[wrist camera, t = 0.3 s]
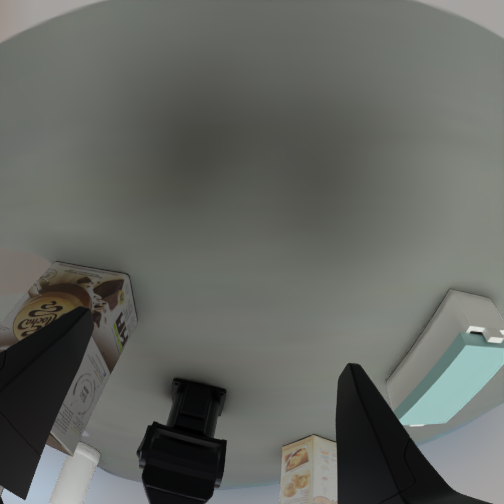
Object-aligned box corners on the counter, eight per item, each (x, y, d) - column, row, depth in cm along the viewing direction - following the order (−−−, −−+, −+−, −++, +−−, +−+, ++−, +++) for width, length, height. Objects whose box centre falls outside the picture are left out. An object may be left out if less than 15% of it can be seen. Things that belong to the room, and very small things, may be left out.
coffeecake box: (280, 446, 43) (271, 557, 26) (313, 433, 39) (311, 556, 23) (339, 464, 47) (340, 556, 30) (371, 452, 43) (377, 550, 27)
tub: (424, 384, 32) (435, 425, 27) (385, 382, 32) (394, 426, 27) (489, 297, 25) (516, 339, 19) (450, 288, 25) (476, 334, 19)
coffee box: (129, 271, 27) (39, 422, 13) (139, 322, 30) (76, 460, 17) (53, 258, 27) (-42, 374, 14) (68, 306, 31) (-4, 419, 17)
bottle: (105, 458, 61) (75, 550, 35) (80, 449, 61) (48, 537, 36) (94, 446, 57) (59, 546, 31) (68, 436, 57) (31, 530, 31)
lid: (442, 412, 27) (445, 423, 26) (391, 413, 27) (393, 425, 26) (509, 338, 21) (515, 349, 20) (459, 332, 21) (466, 345, 20)
